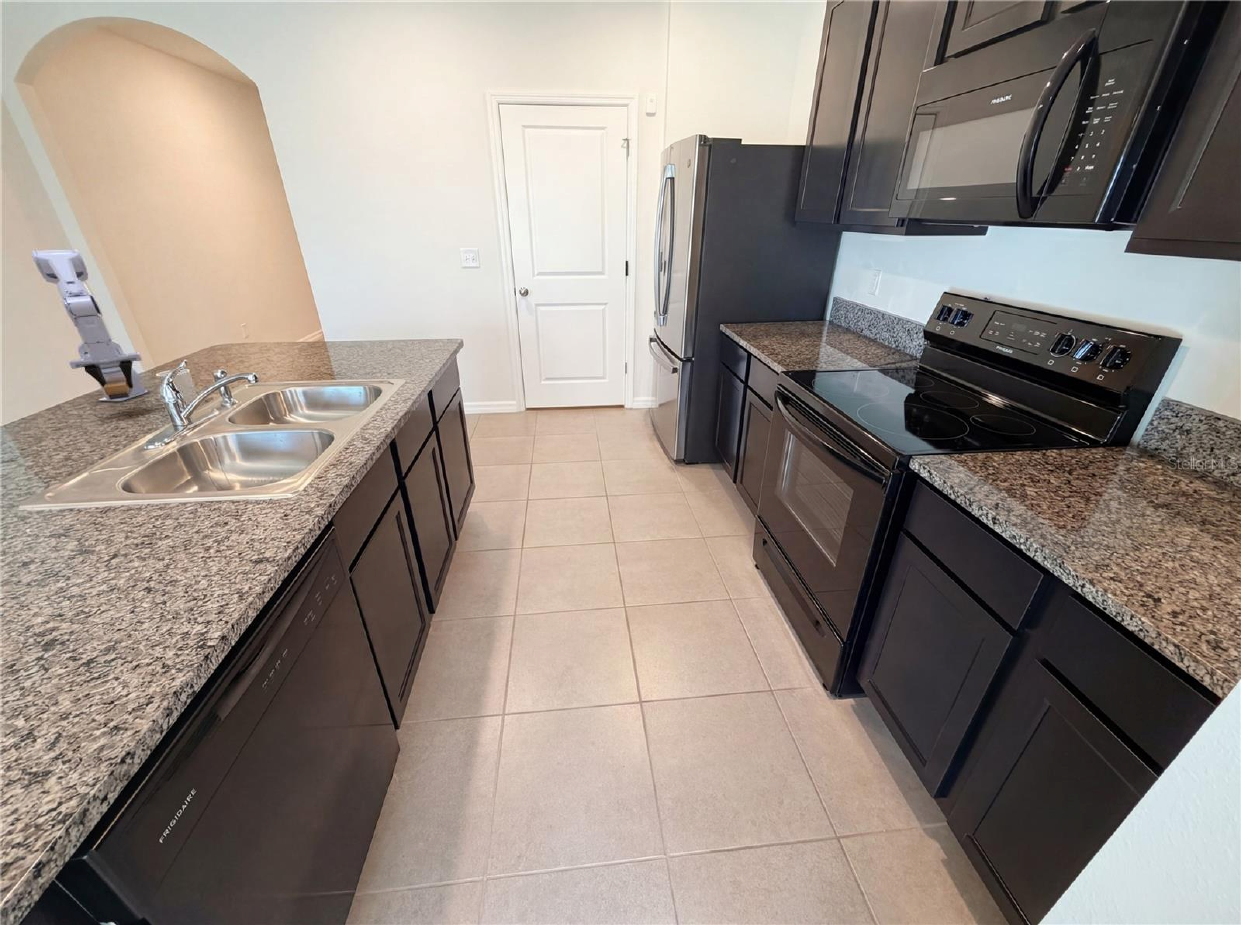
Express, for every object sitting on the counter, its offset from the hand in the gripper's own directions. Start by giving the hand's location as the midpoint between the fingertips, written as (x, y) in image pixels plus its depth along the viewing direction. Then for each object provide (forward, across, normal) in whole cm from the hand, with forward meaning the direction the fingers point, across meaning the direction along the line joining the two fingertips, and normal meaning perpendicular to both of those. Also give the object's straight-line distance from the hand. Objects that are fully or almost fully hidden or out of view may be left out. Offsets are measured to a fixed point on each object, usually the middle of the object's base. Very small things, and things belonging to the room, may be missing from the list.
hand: (119, 388), depth 145 cm
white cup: (+8, +13, +2) cm, 15 cm away
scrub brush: (+1, 0, 0) cm, 1 cm away
